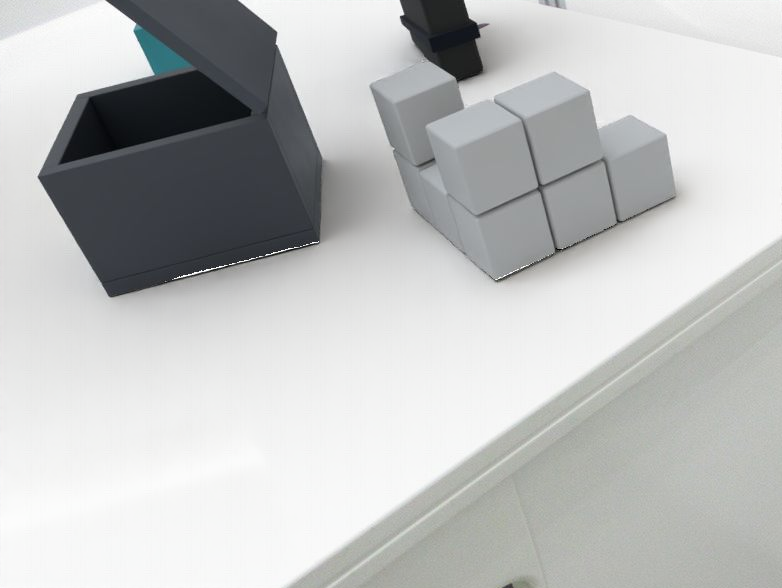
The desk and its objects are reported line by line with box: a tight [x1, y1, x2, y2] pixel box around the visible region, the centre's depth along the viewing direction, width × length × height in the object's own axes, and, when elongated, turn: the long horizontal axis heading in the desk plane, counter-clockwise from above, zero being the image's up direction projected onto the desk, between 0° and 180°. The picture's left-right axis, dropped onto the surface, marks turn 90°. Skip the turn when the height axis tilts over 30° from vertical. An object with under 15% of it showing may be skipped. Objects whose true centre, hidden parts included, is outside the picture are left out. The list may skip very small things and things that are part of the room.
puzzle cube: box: [369, 60, 677, 280], centre depth 62 cm, size 12×12×8 cm
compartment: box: [37, 44, 323, 298], centre depth 67 cm, size 13×12×8 cm
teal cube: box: [132, 23, 192, 75], centre depth 92 cm, size 4×4×4 cm
